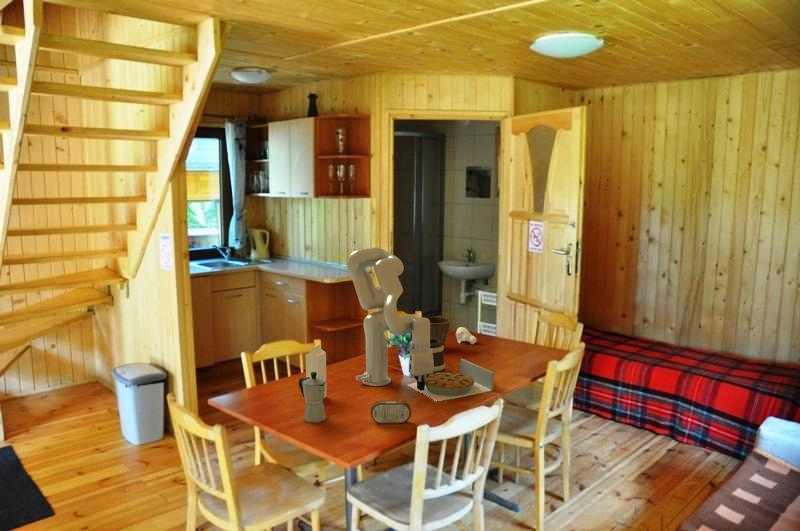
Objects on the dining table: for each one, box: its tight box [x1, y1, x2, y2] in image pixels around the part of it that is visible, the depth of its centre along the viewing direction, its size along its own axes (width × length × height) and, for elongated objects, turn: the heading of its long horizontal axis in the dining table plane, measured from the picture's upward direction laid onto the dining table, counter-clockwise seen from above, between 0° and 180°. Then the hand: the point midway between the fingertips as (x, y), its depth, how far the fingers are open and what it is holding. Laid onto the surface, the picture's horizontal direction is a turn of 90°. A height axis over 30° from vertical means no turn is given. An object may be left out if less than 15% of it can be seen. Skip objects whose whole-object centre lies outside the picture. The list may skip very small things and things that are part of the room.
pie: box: [425, 371, 475, 396], centre depth 264 cm, size 22×22×5 cm
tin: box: [370, 399, 412, 425], centre depth 227 cm, size 15×3×8 cm, turn 92°
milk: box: [305, 344, 327, 399], centre depth 252 cm, size 6×6×22 cm
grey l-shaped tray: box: [407, 358, 495, 403], centre depth 266 cm, size 29×24×9 cm
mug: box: [430, 339, 447, 374], centre depth 290 cm, size 20×15×15 cm
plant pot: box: [426, 316, 451, 346], centre depth 328 cm, size 15×15×16 cm
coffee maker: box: [298, 372, 327, 424], centre depth 231 cm, size 15×9×18 cm, turn 48°
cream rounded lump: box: [455, 326, 477, 345], centre depth 341 cm, size 6×8×12 cm
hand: (420, 389), depth 259 cm, fingers closed
